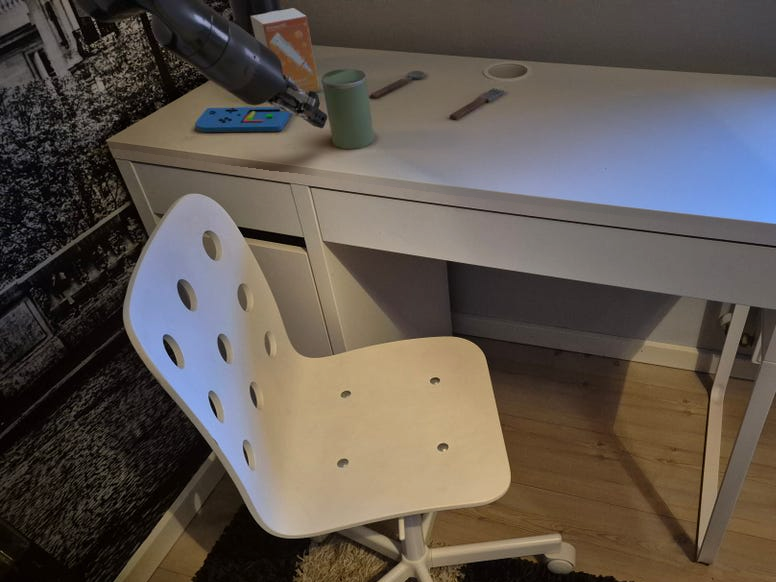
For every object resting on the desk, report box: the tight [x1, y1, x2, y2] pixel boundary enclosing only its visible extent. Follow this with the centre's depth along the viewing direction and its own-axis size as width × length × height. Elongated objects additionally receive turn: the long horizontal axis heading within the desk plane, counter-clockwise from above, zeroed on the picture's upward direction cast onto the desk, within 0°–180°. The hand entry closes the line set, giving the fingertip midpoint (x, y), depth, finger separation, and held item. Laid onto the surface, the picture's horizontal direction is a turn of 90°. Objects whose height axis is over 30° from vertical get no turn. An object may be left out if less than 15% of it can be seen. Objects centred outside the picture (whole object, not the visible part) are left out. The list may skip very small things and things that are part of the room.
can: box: [321, 68, 375, 150], centre depth 104 cm, size 7×7×10 cm
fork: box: [449, 87, 505, 121], centre depth 116 cm, size 14×2×1 cm, turn 146°
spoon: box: [369, 70, 425, 100], centre depth 124 cm, size 14×3×1 cm, turn 146°
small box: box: [250, 7, 320, 93], centre depth 119 cm, size 8×6×13 cm
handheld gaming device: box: [194, 106, 293, 133], centre depth 113 cm, size 8×1×15 cm
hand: (321, 121), depth 100 cm, fingers closed
